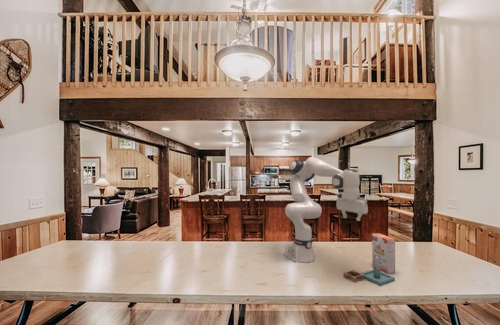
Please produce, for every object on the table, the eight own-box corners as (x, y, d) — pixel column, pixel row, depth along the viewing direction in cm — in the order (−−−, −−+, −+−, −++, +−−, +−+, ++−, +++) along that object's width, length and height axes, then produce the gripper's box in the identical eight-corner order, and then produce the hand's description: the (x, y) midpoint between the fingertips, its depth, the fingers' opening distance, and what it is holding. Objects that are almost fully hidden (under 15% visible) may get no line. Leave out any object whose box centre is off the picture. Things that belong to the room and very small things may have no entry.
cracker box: (371, 265, 169) (371, 233, 169) (379, 264, 170) (379, 232, 170) (387, 274, 155) (386, 239, 155) (395, 273, 156) (395, 238, 156)
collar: (343, 276, 151) (343, 272, 151) (352, 274, 155) (352, 270, 155) (354, 282, 144) (354, 277, 144) (364, 279, 148) (364, 274, 148)
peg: (372, 276, 149) (371, 255, 149) (376, 275, 151) (376, 254, 151) (377, 279, 146) (377, 257, 146) (381, 277, 148) (381, 256, 148)
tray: (359, 276, 151) (359, 273, 151) (374, 272, 157) (374, 269, 157) (380, 285, 140) (380, 282, 140) (394, 280, 146) (394, 277, 146)
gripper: (370, 197, 147) (370, 221, 147) (341, 194, 165) (341, 215, 165) (363, 198, 144) (363, 223, 144) (334, 194, 162) (334, 216, 162)
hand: (351, 219), depth 155 cm, fingers open, 8 cm apart
